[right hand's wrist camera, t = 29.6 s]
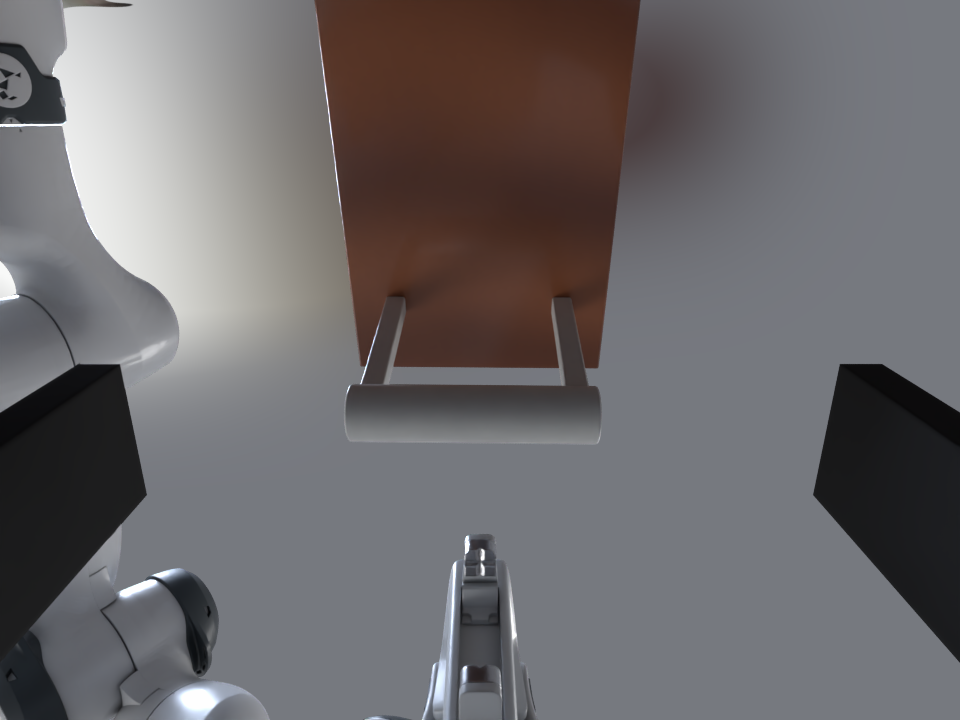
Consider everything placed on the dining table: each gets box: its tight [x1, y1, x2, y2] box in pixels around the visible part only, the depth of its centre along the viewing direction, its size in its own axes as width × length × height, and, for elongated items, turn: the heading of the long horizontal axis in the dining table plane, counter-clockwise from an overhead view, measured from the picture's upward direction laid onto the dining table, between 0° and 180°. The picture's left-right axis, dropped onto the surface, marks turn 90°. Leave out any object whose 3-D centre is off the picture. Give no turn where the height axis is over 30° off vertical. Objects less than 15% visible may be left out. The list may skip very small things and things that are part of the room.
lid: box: [315, 0, 640, 444], centre depth 20 cm, size 14×9×9 cm
